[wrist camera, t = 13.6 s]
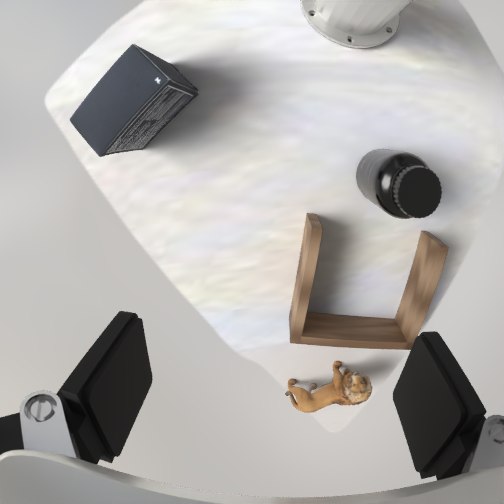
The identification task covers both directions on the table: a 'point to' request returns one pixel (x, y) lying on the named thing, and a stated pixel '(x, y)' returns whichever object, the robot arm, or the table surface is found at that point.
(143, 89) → the small box
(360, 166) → the supplement bottle
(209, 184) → the table surface
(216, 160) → the table surface
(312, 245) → the walnut u-shaped bracket
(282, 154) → the table surface
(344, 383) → the lion figurine
